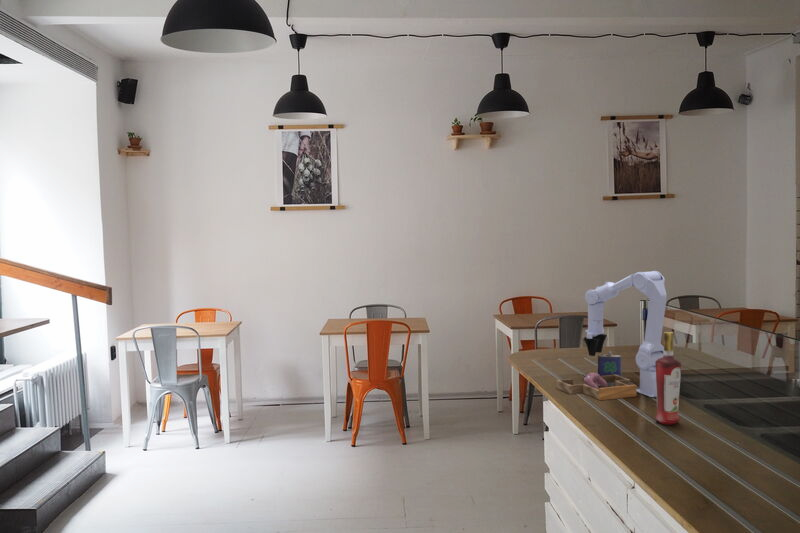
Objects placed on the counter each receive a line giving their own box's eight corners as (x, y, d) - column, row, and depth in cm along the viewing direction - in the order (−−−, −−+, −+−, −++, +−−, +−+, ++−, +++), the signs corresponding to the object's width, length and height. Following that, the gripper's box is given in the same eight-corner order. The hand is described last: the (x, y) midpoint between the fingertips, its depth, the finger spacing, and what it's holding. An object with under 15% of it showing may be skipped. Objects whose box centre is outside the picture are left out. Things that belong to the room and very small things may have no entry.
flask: (620, 377, 252) (620, 350, 251) (622, 378, 249) (622, 352, 248) (596, 377, 252) (597, 350, 251) (598, 378, 249) (599, 352, 248)
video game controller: (598, 389, 239) (590, 372, 240) (609, 386, 236) (601, 368, 238) (588, 395, 231) (580, 377, 233) (598, 391, 229) (590, 373, 230)
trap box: (649, 394, 225) (649, 383, 225) (586, 401, 217) (586, 390, 217) (615, 382, 244) (615, 371, 243) (556, 388, 236) (556, 377, 236)
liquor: (667, 417, 198) (668, 330, 197) (685, 424, 192) (687, 333, 190) (649, 420, 196) (650, 331, 194) (667, 427, 189) (668, 335, 187)
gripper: (591, 316, 256) (591, 349, 257) (579, 321, 244) (578, 356, 245) (609, 318, 252) (608, 351, 253) (597, 322, 240) (596, 358, 241)
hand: (595, 354), depth 249 cm, fingers open, 7 cm apart
